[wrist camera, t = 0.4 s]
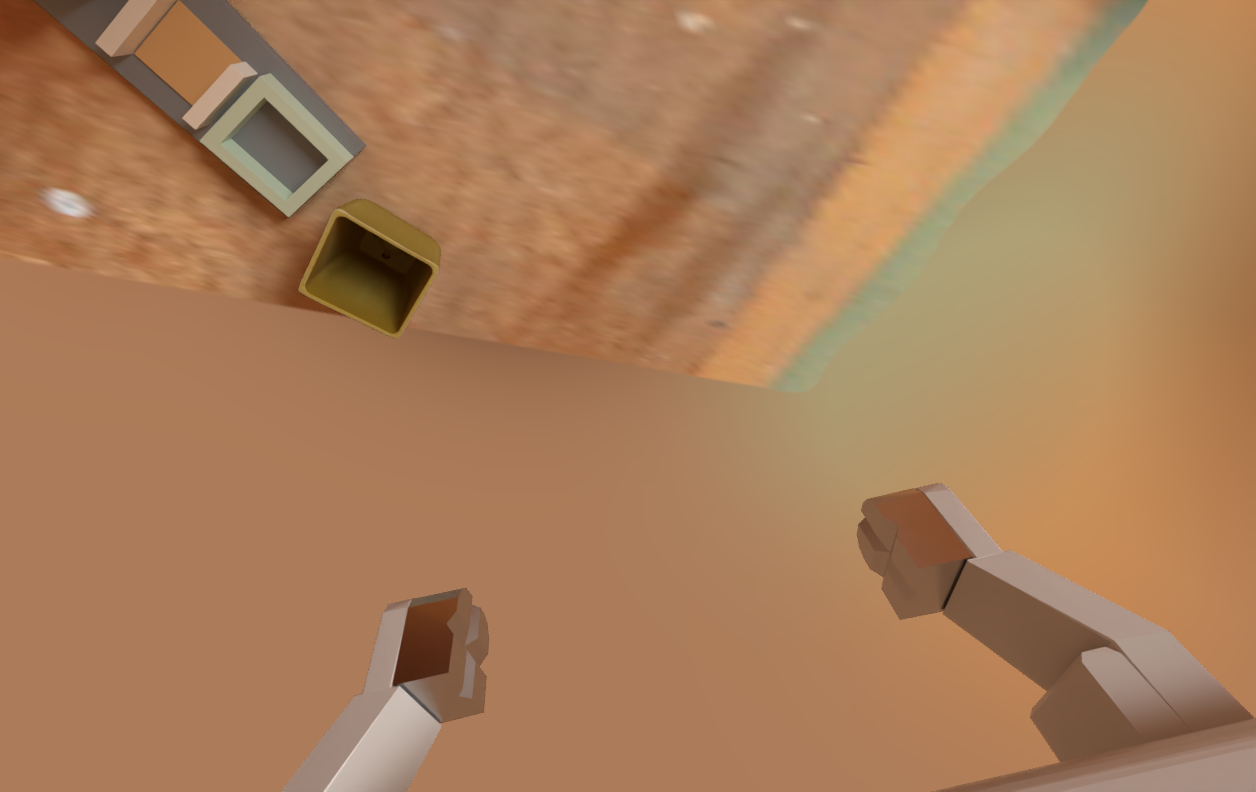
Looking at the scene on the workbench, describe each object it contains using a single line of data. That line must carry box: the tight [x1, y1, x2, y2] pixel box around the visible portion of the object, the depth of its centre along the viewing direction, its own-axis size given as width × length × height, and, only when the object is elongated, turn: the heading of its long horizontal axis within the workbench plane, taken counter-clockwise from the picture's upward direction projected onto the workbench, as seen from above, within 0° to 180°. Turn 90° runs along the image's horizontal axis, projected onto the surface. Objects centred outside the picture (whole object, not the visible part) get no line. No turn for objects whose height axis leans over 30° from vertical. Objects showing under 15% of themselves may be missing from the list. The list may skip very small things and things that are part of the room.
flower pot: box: [298, 199, 441, 339], centre depth 47 cm, size 9×9×9 cm
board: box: [34, 0, 366, 218], centre depth 40 cm, size 22×10×1 cm, turn 36°
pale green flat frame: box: [200, 73, 353, 217], centre depth 43 cm, size 8×8×2 cm
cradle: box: [95, 0, 258, 130], centre depth 38 cm, size 7×6×2 cm
